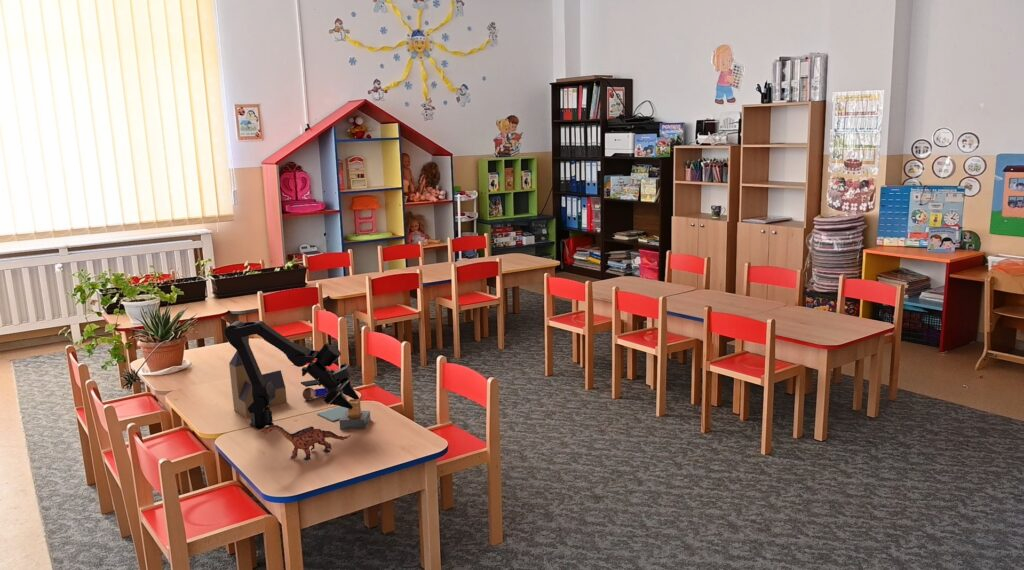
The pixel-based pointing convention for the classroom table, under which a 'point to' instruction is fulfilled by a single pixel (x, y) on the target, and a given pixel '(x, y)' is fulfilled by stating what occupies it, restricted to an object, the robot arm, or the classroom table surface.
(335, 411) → the pad
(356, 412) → the peg
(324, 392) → the figurine character
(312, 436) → the toy dinosaur
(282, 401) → the toy building blocks
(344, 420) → the socket block
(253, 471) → the classroom table surface
